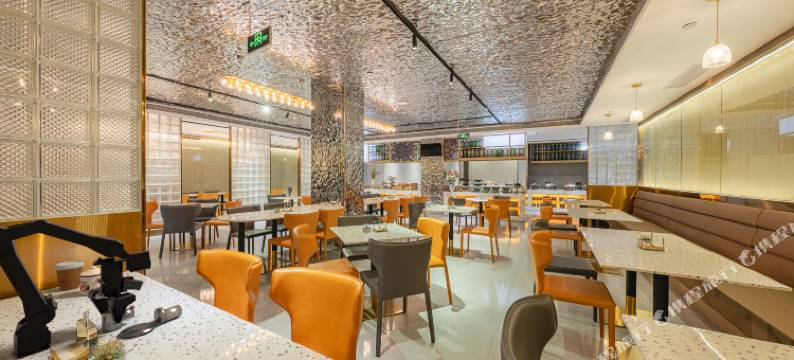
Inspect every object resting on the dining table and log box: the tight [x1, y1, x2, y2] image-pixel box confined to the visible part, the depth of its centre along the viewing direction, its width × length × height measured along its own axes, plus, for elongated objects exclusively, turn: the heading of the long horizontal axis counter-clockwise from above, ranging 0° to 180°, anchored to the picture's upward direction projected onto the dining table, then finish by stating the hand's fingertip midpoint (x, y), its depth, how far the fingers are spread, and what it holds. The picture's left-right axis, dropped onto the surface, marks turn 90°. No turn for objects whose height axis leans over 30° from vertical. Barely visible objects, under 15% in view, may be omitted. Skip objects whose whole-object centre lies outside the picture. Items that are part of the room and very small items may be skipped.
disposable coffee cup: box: [54, 260, 85, 292], centre depth 141 cm, size 10×10×12 cm
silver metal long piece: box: [119, 304, 183, 340], centre depth 106 cm, size 17×9×6 cm, turn 155°
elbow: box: [101, 304, 136, 334], centre depth 105 cm, size 9×5×6 cm, turn 155°
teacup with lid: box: [79, 266, 100, 296], centre depth 136 cm, size 12×9×12 cm
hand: (111, 320), depth 104 cm, fingers open, 9 cm apart
